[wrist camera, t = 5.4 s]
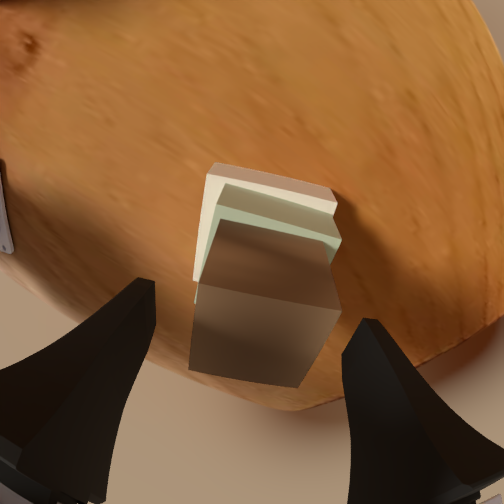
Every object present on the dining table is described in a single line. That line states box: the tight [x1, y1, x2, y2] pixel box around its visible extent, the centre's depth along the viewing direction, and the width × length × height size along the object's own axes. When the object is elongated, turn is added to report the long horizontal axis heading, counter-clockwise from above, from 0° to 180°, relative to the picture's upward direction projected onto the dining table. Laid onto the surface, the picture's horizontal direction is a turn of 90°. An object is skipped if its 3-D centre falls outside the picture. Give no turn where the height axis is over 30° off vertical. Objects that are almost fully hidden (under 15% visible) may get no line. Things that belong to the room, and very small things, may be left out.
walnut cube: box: [188, 218, 342, 388], centre depth 11 cm, size 4×4×4 cm
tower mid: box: [194, 183, 342, 304], centre depth 13 cm, size 5×5×2 cm
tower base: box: [193, 162, 338, 282], centre depth 16 cm, size 6×6×2 cm
